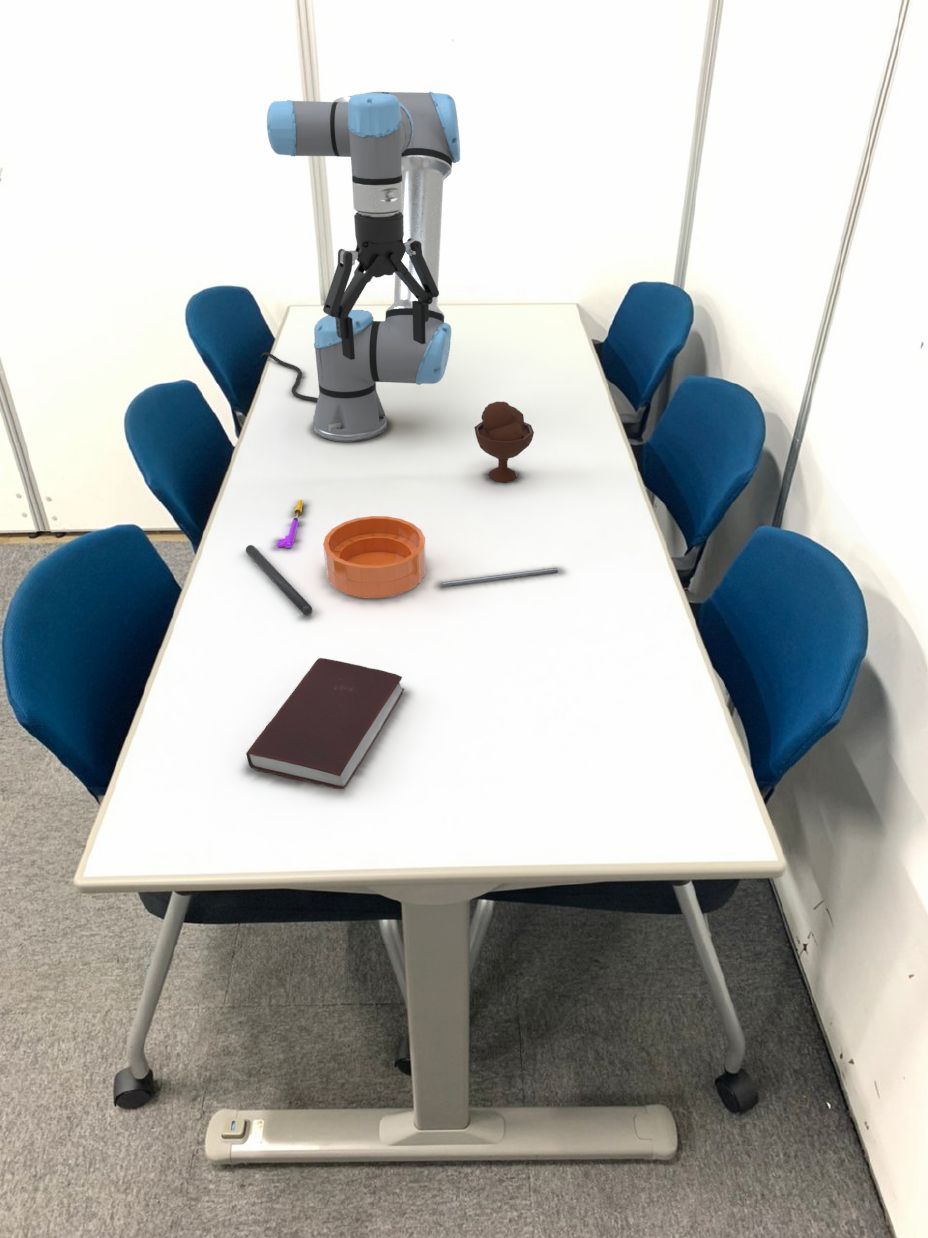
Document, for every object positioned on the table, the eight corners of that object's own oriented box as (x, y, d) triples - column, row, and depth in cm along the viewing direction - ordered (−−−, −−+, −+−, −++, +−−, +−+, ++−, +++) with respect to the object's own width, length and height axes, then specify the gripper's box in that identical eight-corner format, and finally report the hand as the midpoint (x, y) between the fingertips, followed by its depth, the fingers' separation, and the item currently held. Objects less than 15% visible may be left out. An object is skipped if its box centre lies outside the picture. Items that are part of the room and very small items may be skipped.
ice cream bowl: (527, 491, 165) (531, 414, 156) (468, 485, 166) (468, 409, 158) (535, 466, 173) (539, 392, 164) (478, 461, 175) (480, 387, 166)
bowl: (309, 566, 143) (306, 533, 140) (393, 538, 151) (391, 507, 147) (357, 612, 133) (355, 579, 130) (444, 580, 140) (444, 547, 137)
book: (247, 769, 107) (243, 749, 105) (319, 672, 122) (317, 653, 120) (343, 794, 104) (341, 775, 102) (404, 692, 118) (404, 673, 117)
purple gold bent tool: (293, 548, 147) (305, 502, 160) (290, 542, 147) (302, 496, 160) (277, 551, 148) (291, 505, 161) (275, 545, 147) (288, 500, 160)
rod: (440, 585, 139) (440, 581, 139) (556, 570, 143) (556, 566, 143) (441, 587, 139) (441, 584, 138) (557, 572, 142) (557, 569, 142)
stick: (212, 589, 142) (247, 542, 146) (217, 595, 143) (252, 548, 147) (305, 611, 131) (340, 560, 135) (310, 618, 132) (345, 566, 136)
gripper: (316, 226, 128) (328, 370, 140) (460, 206, 139) (459, 341, 152) (293, 216, 133) (306, 357, 145) (433, 198, 144) (435, 329, 157)
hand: (384, 349), depth 148 cm, fingers open, 13 cm apart
